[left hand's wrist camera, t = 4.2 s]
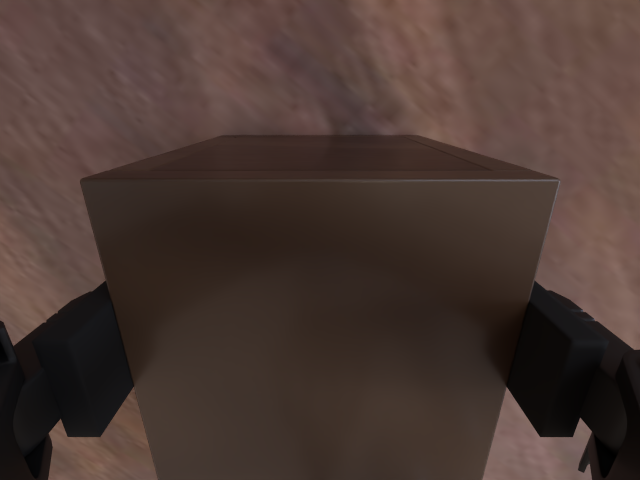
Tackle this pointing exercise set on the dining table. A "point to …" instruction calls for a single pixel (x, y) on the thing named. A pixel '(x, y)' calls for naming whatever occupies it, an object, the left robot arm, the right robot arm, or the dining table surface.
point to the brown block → (320, 302)
